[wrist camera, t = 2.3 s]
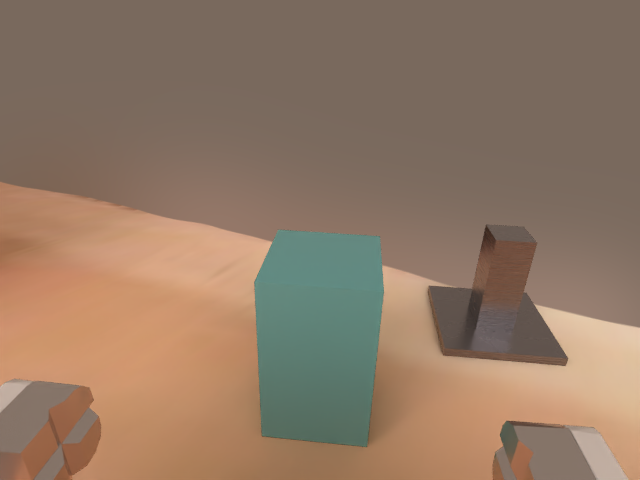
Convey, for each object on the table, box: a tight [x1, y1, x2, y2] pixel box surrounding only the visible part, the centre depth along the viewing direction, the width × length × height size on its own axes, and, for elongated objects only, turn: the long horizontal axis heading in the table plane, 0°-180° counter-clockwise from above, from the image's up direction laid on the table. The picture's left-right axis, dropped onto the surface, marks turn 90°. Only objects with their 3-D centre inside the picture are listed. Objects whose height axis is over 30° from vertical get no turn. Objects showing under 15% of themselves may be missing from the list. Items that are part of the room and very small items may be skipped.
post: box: [428, 225, 568, 366], centre depth 30 cm, size 8×8×8 cm
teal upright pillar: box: [254, 230, 384, 447], centre depth 23 cm, size 6×6×10 cm
